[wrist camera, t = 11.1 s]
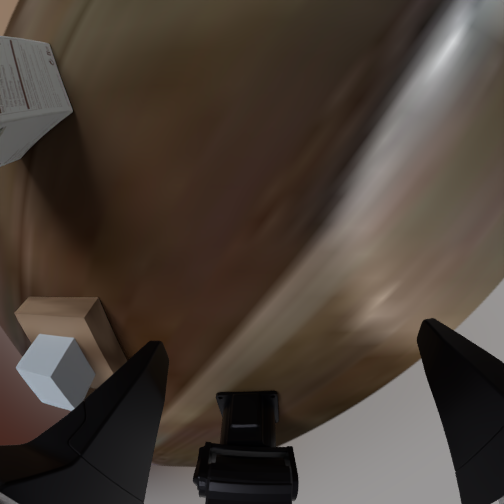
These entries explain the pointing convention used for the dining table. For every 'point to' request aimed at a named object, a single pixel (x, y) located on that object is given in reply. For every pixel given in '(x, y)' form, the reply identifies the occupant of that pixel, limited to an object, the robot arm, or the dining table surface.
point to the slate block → (56, 371)
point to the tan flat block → (75, 329)
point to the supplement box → (28, 95)
